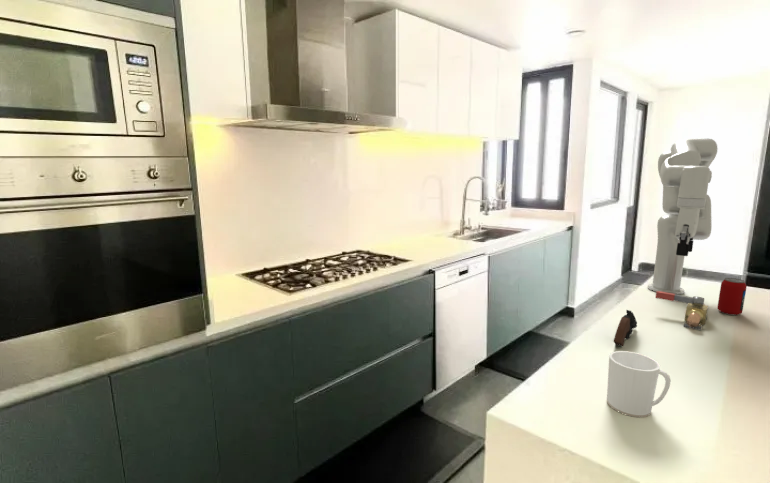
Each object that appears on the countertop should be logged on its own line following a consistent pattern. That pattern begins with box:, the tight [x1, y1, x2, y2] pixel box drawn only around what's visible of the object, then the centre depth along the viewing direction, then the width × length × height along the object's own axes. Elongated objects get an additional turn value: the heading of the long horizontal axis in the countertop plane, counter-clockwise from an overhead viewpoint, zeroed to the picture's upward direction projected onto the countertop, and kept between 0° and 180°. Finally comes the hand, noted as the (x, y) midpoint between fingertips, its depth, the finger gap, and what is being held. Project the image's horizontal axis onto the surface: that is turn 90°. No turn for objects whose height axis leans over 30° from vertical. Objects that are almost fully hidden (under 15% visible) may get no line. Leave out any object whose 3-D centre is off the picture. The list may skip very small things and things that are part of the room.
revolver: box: [612, 309, 638, 347], centre depth 120 cm, size 3×18×12 cm
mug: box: [606, 350, 672, 418], centre depth 84 cm, size 11×9×10 cm
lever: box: [655, 291, 705, 307], centre depth 137 cm, size 13×3×3 cm, turn 48°
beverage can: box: [716, 277, 747, 316], centre depth 141 cm, size 7×7×12 cm
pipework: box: [683, 303, 709, 331], centre depth 134 cm, size 22×5×5 cm, turn 138°
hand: (684, 253), depth 139 cm, fingers open, 9 cm apart
